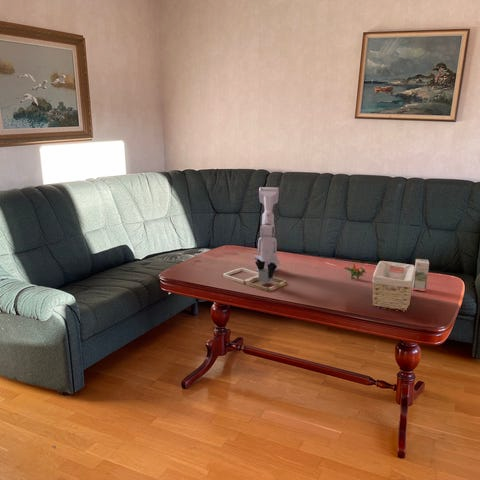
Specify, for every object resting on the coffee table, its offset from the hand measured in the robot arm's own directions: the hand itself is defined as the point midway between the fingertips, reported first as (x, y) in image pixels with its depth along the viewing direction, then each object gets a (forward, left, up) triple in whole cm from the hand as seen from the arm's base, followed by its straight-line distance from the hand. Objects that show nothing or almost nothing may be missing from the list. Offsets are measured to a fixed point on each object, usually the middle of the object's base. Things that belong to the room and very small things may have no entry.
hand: (266, 276), depth 220 cm
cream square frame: (0, -15, -4) cm, 15 cm away
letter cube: (0, 0, -2) cm, 2 cm away
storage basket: (-22, +54, -4) cm, 58 cm away
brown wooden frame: (0, 0, -4) cm, 4 cm away
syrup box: (-44, +58, -4) cm, 73 cm away
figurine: (-36, +28, -4) cm, 46 cm away
